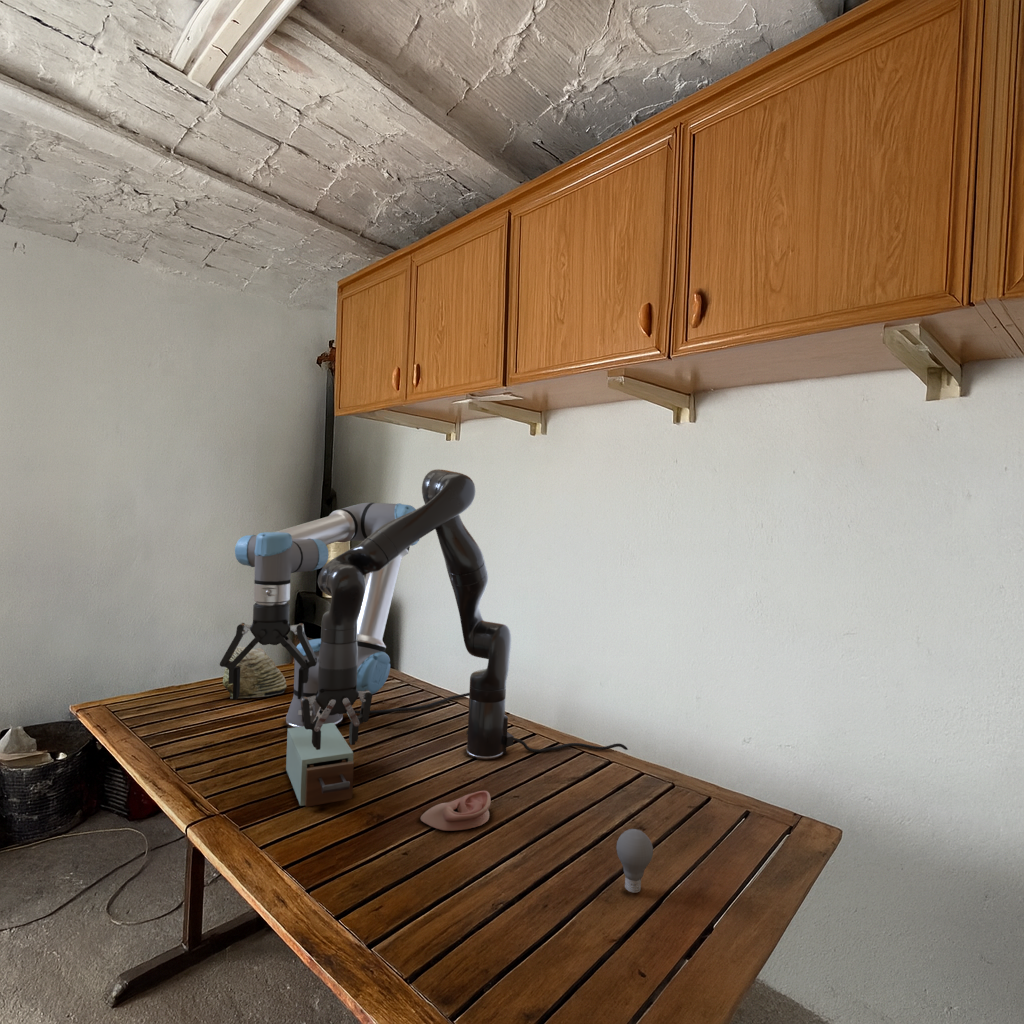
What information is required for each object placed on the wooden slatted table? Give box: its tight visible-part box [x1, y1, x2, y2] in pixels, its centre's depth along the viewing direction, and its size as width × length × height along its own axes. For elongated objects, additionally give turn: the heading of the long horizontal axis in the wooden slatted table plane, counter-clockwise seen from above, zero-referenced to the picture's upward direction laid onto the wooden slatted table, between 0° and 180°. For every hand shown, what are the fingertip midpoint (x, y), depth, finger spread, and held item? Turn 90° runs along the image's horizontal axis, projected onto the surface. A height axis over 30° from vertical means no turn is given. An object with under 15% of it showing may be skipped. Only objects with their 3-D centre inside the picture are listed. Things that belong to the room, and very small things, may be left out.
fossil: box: [222, 646, 288, 699], centre depth 198 cm, size 9×18×15 cm, turn 132°
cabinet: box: [285, 723, 354, 807], centre depth 140 cm, size 19×10×10 cm, turn 28°
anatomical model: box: [419, 790, 492, 832], centre depth 127 cm, size 13×4×12 cm
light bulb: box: [615, 828, 654, 894], centre depth 106 cm, size 6×6×10 cm
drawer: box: [304, 759, 355, 808], centre depth 135 cm, size 23×9×8 cm, turn 28°
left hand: (268, 697), depth 140 cm, fingers open, 13 cm apart
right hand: (335, 745), depth 127 cm, fingers open, 6 cm apart
